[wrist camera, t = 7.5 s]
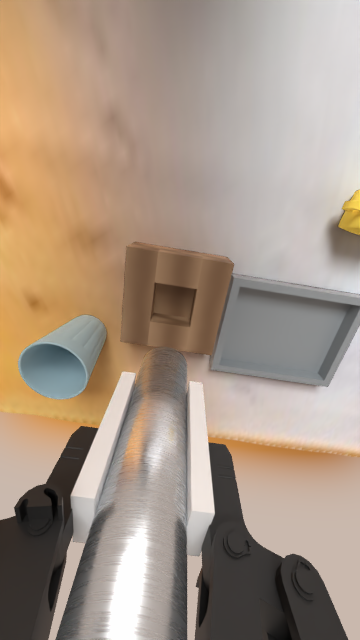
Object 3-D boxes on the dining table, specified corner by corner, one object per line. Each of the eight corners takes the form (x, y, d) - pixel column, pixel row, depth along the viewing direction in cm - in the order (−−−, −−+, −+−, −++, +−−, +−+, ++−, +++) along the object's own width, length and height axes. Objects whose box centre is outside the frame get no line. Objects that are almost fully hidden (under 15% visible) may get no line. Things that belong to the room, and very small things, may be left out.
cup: (52, 320, 35) (2, 359, 26) (94, 298, 34) (58, 331, 24) (82, 359, 38) (48, 407, 28) (123, 340, 36) (100, 385, 27)
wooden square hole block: (129, 325, 35) (120, 341, 30) (135, 241, 30) (126, 246, 26) (208, 337, 35) (211, 355, 31) (227, 257, 31) (234, 264, 26)
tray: (209, 360, 37) (211, 369, 35) (230, 273, 32) (234, 277, 29) (319, 377, 38) (328, 386, 36) (359, 294, 32) (372, 300, 30)
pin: (140, 381, 17) (3, 855, 4) (144, 343, 16) (-31, 854, 3) (183, 387, 17) (172, 867, 5) (190, 350, 16) (205, 871, 3)
